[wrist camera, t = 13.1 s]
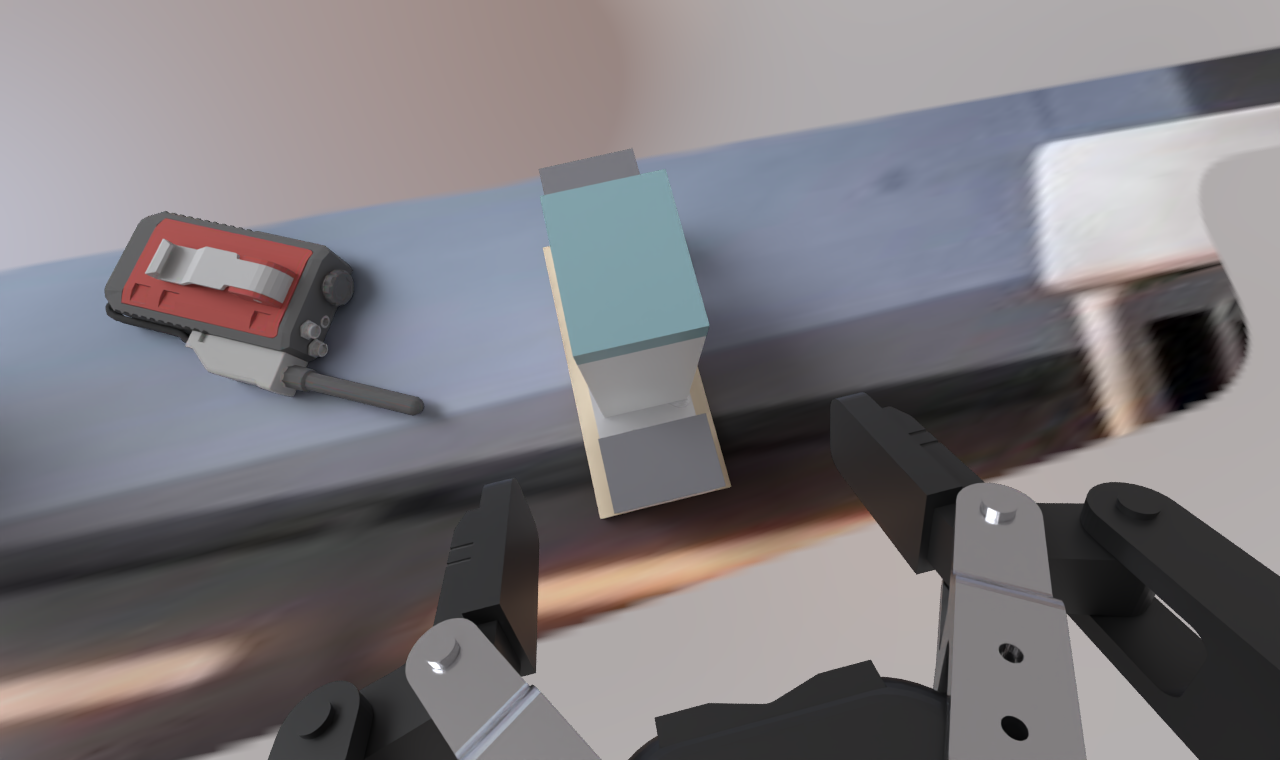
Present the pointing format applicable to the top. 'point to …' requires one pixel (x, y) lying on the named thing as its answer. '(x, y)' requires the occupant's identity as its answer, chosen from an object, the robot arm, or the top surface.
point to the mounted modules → (658, 454)
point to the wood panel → (587, 411)
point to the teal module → (627, 290)
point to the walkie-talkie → (241, 303)
